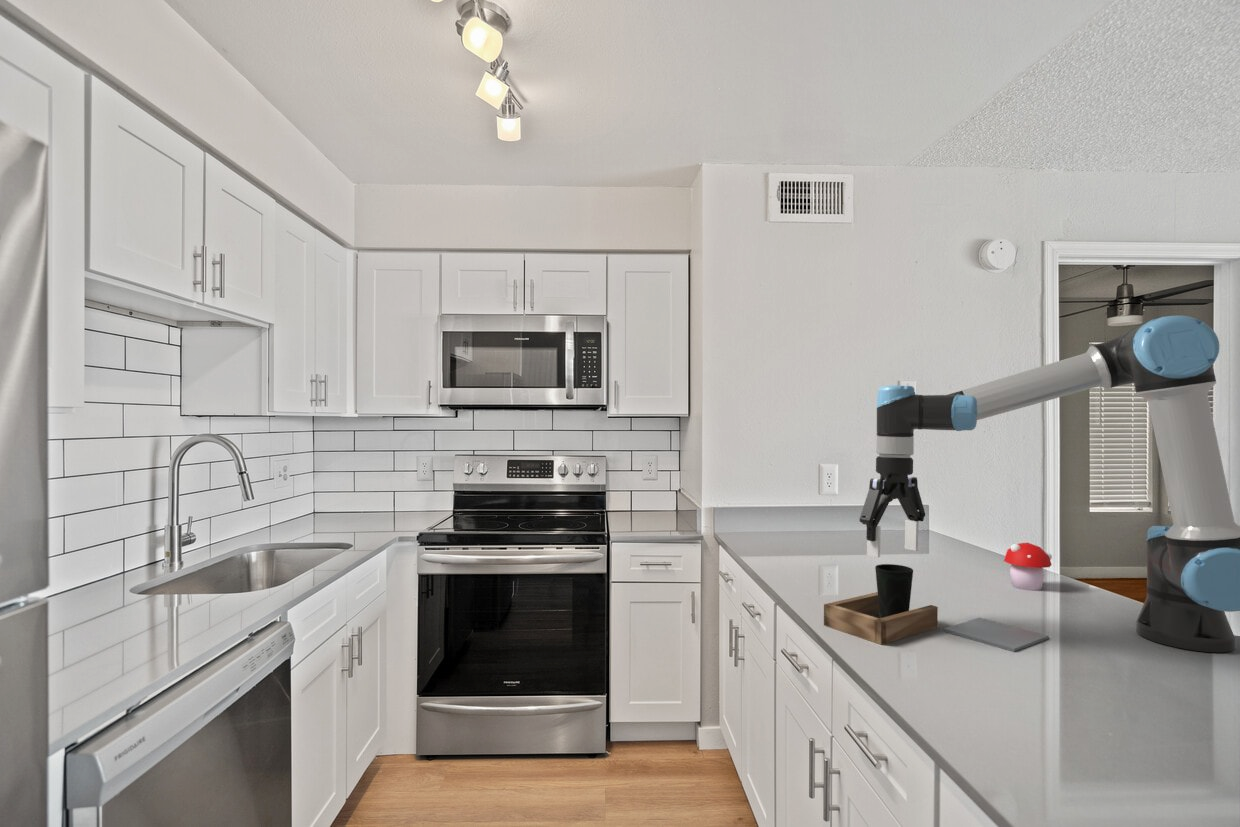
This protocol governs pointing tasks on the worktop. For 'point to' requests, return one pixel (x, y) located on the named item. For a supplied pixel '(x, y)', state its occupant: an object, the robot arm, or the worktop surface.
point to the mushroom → (1027, 565)
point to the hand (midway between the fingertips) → (892, 552)
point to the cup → (893, 588)
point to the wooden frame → (877, 619)
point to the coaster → (996, 634)
